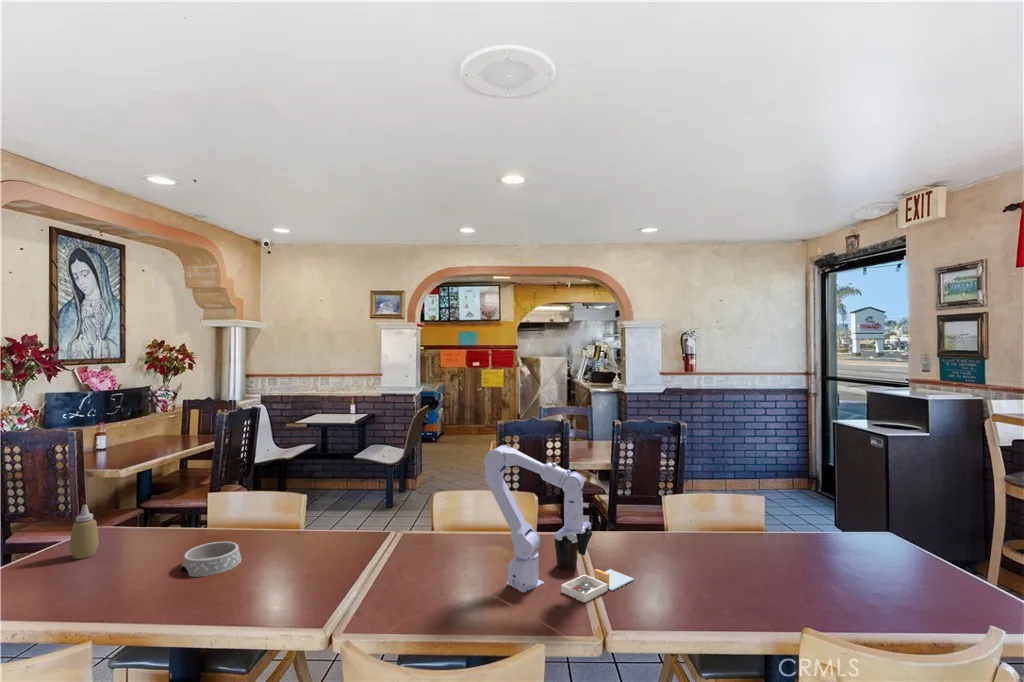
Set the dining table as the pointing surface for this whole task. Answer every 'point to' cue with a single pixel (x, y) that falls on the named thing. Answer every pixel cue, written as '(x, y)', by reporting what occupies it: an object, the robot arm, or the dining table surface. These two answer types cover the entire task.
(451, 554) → the dining table surface
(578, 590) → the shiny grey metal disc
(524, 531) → the robot arm
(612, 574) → the lid
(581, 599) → the tub
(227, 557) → the dog bowl
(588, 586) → the grey shiny rounded part
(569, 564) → the coffee mug
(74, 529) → the squeeze bottle
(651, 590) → the dining table surface
